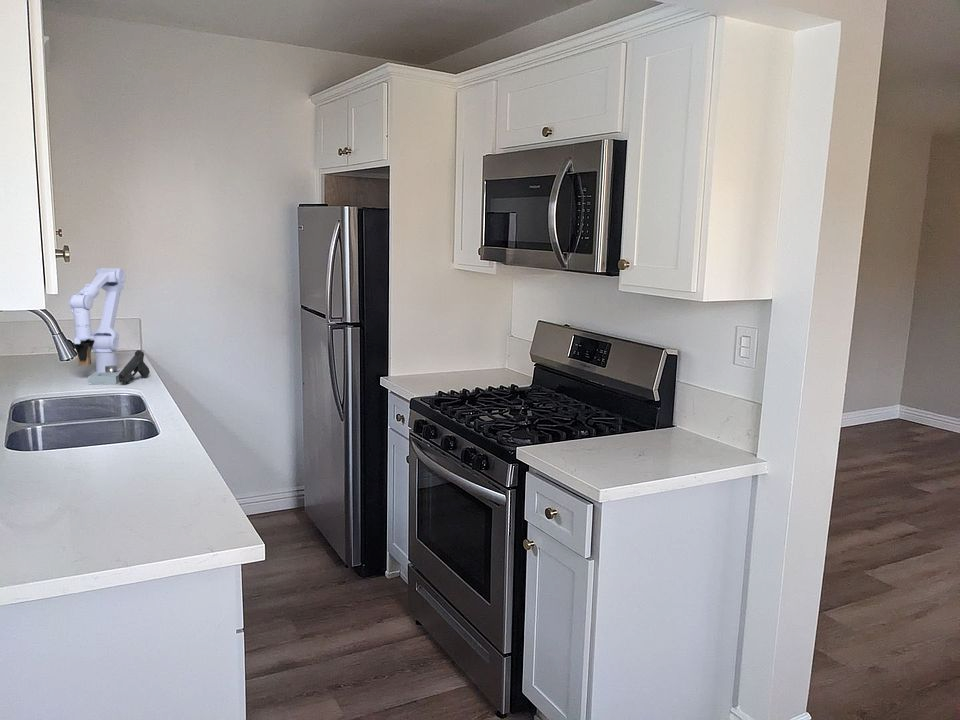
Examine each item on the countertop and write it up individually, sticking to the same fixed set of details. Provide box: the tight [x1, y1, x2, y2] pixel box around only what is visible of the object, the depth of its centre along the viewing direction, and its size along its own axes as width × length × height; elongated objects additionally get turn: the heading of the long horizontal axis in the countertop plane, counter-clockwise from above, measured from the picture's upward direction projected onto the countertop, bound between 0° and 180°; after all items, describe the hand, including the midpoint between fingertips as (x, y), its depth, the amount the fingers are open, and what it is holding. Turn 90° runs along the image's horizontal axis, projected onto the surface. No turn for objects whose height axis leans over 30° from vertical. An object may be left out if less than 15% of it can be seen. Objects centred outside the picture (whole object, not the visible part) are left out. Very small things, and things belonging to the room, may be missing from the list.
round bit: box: [105, 365, 119, 372], centre depth 301 cm, size 4×4×5 cm
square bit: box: [77, 346, 92, 367], centre depth 296 cm, size 4×4×7 cm
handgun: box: [118, 349, 151, 385], centre depth 296 cm, size 2×17×12 cm, turn 174°
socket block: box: [87, 371, 121, 385], centre depth 294 cm, size 9×10×3 cm
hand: (84, 359), depth 297 cm, fingers closed on square bit, 4 cm apart
